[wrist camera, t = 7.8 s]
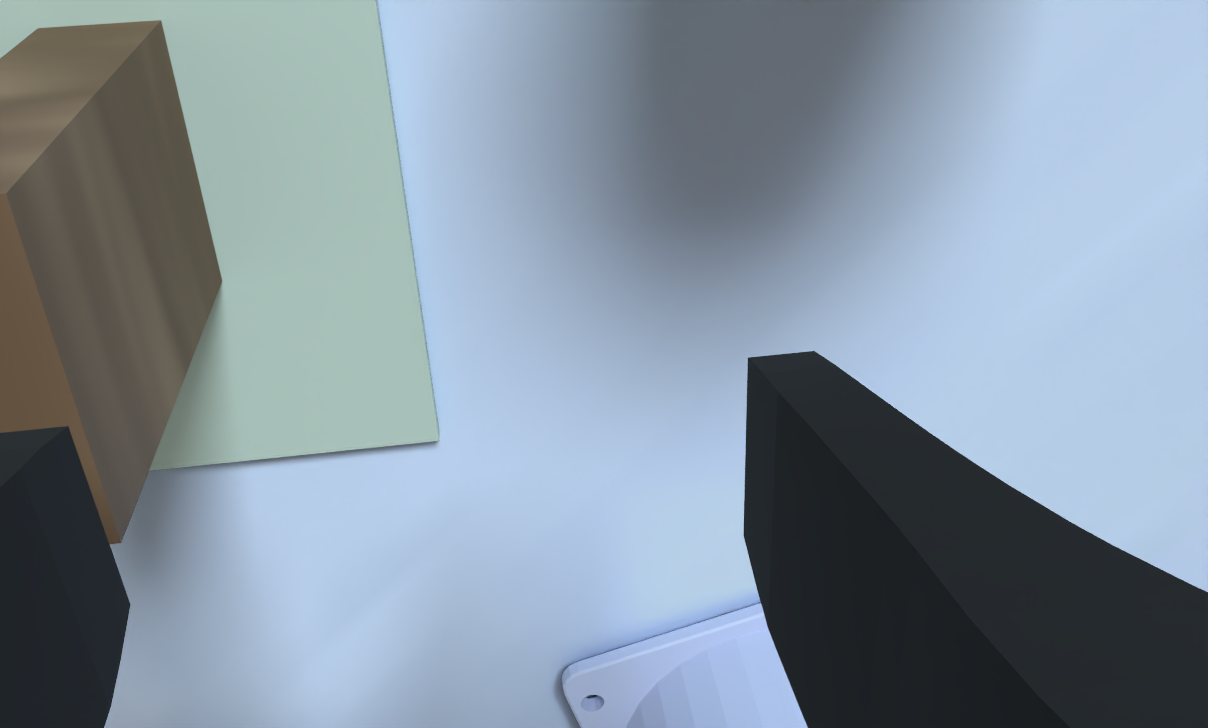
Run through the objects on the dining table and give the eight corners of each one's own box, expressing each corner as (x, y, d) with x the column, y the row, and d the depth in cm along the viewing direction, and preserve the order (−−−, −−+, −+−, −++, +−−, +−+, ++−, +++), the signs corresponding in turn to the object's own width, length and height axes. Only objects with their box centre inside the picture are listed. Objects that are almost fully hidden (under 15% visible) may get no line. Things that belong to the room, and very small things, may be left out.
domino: (161, 19, 17) (6, 193, 11) (222, 281, 19) (120, 542, 13) (37, 28, 17) (-188, 208, 11) (113, 290, 19) (-38, 559, 13)
